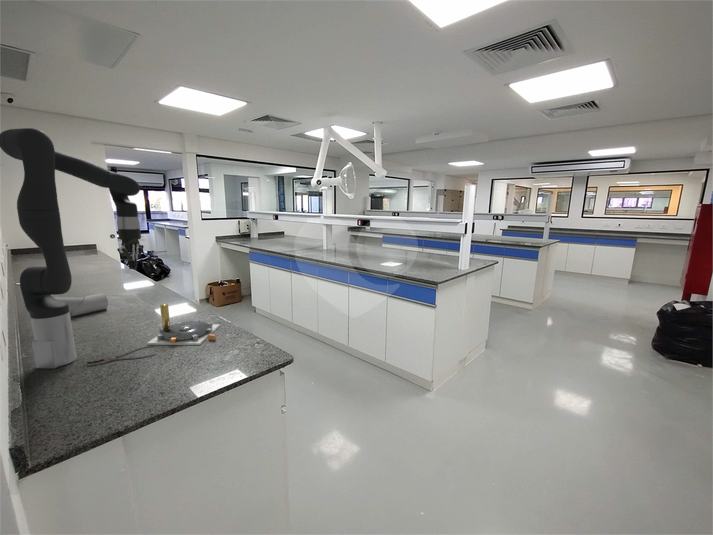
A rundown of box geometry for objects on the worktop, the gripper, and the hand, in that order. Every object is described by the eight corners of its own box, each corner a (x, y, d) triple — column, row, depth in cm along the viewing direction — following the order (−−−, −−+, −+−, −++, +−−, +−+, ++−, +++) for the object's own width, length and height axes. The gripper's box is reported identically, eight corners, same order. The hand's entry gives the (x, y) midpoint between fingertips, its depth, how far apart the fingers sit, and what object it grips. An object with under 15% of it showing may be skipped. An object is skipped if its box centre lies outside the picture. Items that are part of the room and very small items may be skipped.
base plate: (210, 345, 120) (209, 340, 120) (147, 344, 119) (146, 339, 119) (229, 326, 140) (228, 322, 139) (175, 325, 139) (174, 321, 138)
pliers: (161, 352, 112) (91, 372, 97) (161, 354, 113) (91, 375, 98) (152, 344, 119) (85, 362, 104) (152, 346, 119) (85, 364, 104)
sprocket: (200, 343, 119) (198, 312, 117) (145, 342, 118) (141, 311, 116) (221, 323, 140) (219, 297, 138) (174, 322, 139) (172, 296, 137)
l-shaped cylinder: (58, 320, 138) (110, 308, 155) (53, 297, 137) (106, 288, 155) (45, 321, 147) (95, 309, 164) (39, 299, 146) (91, 290, 163)
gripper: (127, 228, 119) (131, 272, 123) (148, 227, 133) (152, 266, 136) (107, 228, 119) (112, 271, 122) (130, 226, 132) (134, 265, 135)
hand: (133, 268), depth 129 cm, fingers closed
